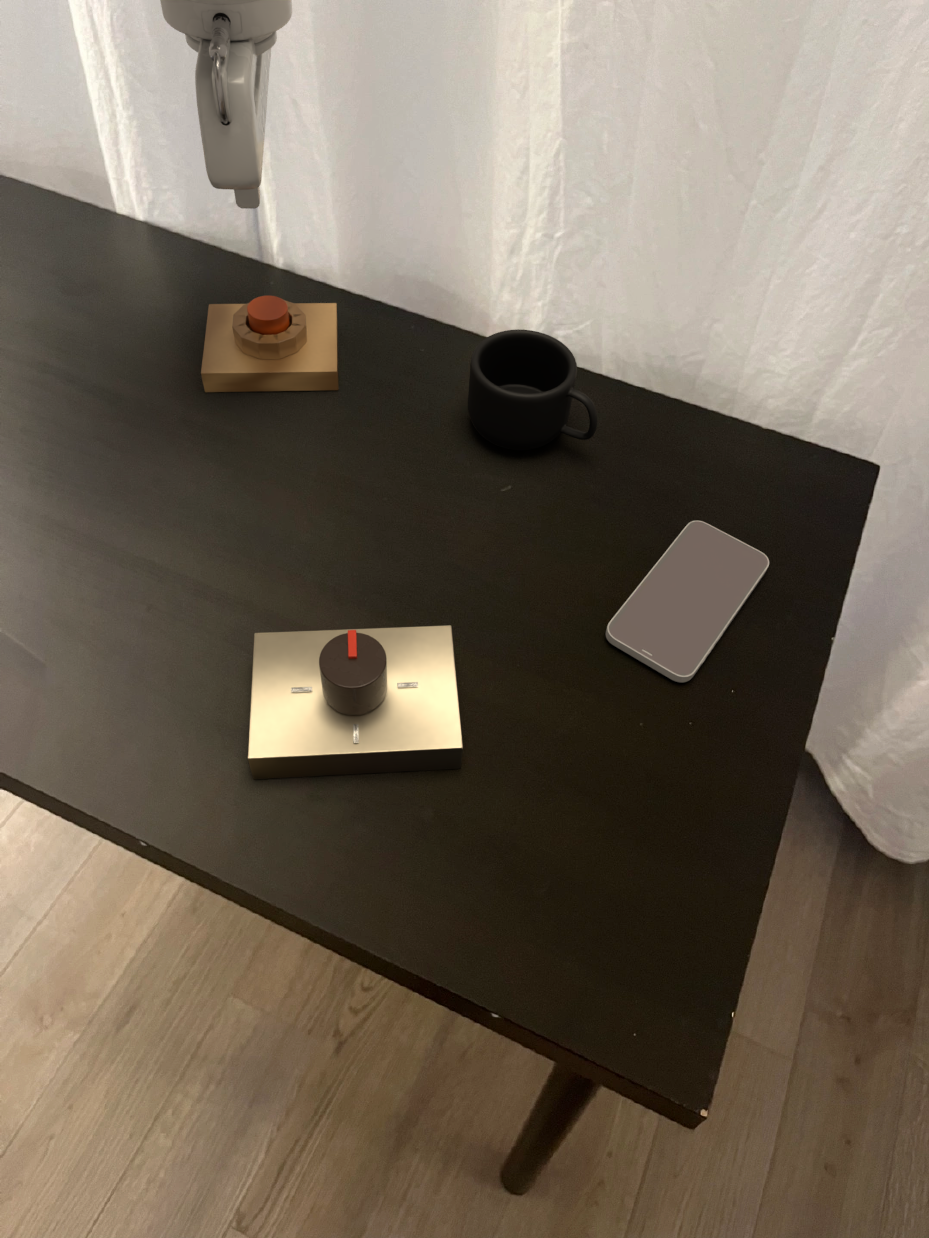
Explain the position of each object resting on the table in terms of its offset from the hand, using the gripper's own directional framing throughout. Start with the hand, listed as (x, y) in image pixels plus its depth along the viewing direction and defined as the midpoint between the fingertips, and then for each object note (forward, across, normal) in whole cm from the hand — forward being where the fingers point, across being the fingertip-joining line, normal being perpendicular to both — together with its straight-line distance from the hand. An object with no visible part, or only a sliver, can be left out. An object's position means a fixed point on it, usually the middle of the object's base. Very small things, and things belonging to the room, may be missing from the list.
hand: (250, 181), depth 76 cm
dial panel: (+17, -39, -7) cm, 43 cm away
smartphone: (+17, -30, -33) cm, 48 cm away
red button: (+14, 0, 0) cm, 14 cm away
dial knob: (+14, -39, -7) cm, 42 cm away
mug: (+17, -11, -23) cm, 31 cm away
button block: (+17, 0, 0) cm, 17 cm away
